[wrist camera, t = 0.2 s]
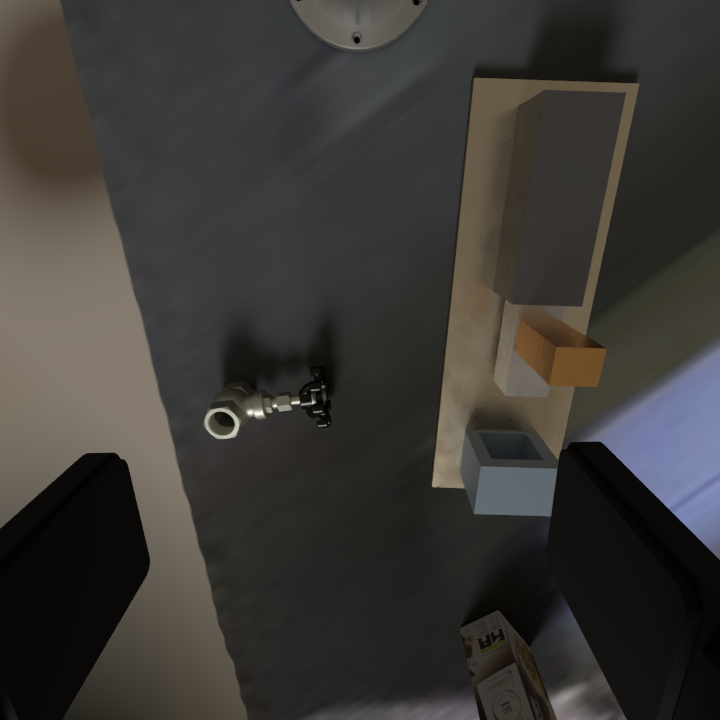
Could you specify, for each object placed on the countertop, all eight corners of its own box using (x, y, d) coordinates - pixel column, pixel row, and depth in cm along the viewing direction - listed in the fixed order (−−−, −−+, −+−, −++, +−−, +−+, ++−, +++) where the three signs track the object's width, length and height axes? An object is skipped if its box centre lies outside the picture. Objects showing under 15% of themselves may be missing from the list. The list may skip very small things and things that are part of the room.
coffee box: (457, 628, 60) (488, 772, 45) (498, 607, 59) (545, 749, 44) (491, 667, 63) (532, 816, 47) (531, 648, 61) (587, 795, 46)
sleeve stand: (471, 80, 38) (493, 55, 32) (632, 86, 38) (688, 62, 32) (430, 481, 52) (440, 522, 46) (549, 485, 52) (575, 526, 46)
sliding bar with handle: (529, 131, 38) (600, 100, 26) (576, 132, 38) (666, 103, 26) (493, 379, 46) (536, 438, 34) (532, 381, 46) (587, 440, 34)
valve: (229, 424, 50) (333, 410, 49) (209, 455, 44) (329, 440, 43) (213, 370, 48) (323, 355, 47) (191, 395, 42) (316, 378, 41)
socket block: (465, 430, 49) (480, 466, 42) (537, 432, 49) (564, 469, 42) (459, 473, 51) (473, 513, 44) (529, 475, 51) (554, 516, 44)
